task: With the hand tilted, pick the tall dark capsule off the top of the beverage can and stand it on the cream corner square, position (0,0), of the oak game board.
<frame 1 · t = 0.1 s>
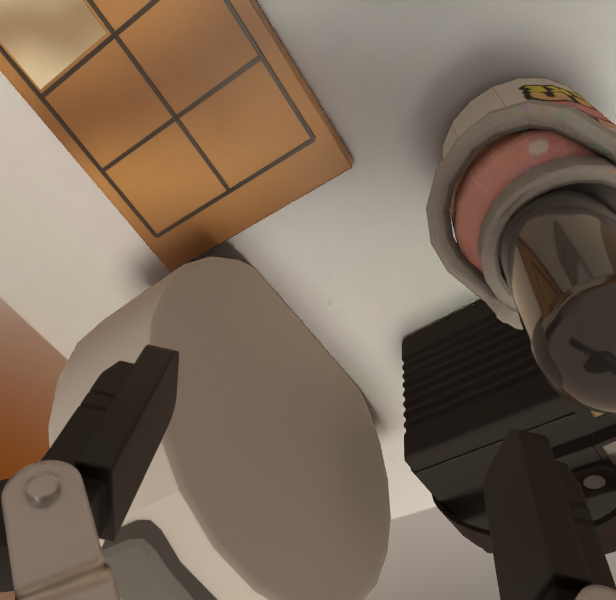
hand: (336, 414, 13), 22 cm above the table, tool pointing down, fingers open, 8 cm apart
camera: (522, 348, 38), on the table
board: (154, 73, 31), on the table
alarm clock: (270, 351, 41), on the table
dark capsule: (560, 244, 21), point 12 cm above the table, touching beverage can
beverage can: (505, 145, 31), on the table, touching dark capsule
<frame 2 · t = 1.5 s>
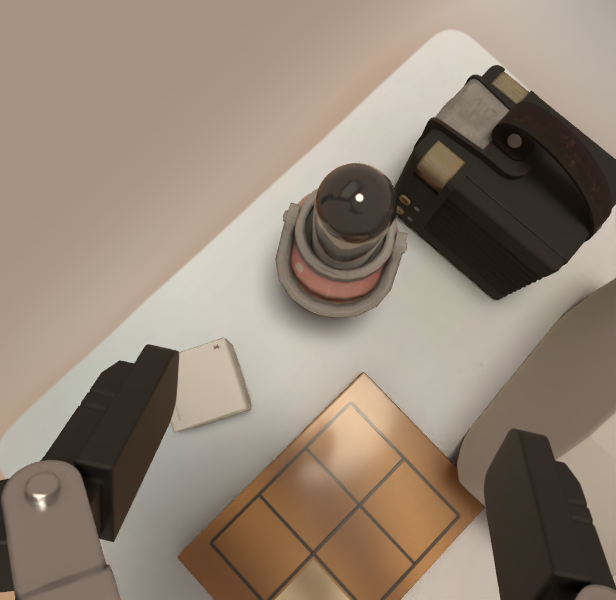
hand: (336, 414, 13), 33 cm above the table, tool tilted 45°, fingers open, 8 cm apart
camera: (473, 211, 49), on the table
board: (335, 525, 44), on the table
alarm clock: (547, 405, 46), on the table
small box: (209, 386, 46), on the table
dark capsule: (344, 236, 36), point 12 cm above the table, touching beverage can
beverage can: (328, 278, 48), on the table, touching dark capsule
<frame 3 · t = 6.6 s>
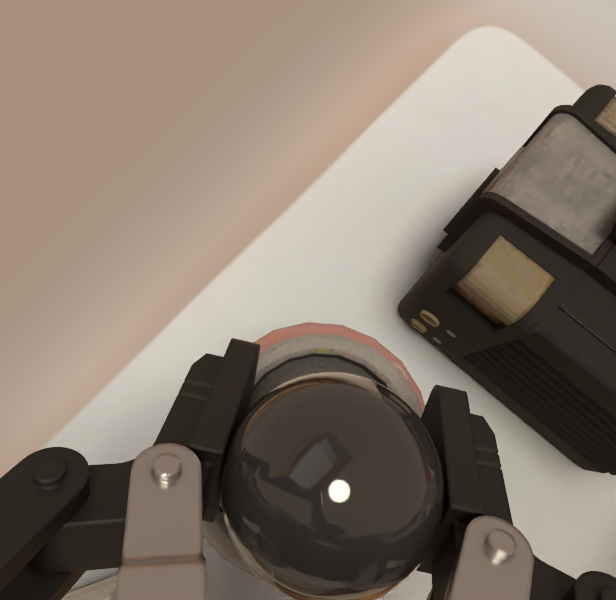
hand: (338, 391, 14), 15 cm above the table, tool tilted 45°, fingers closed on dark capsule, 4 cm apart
camera: (537, 315, 31), on the table
dark capsule: (316, 458, 17), point 12 cm above the table, touching beverage can, gripper
beverage can: (305, 439, 29), on the table, touching dark capsule
when the fingers open (5 cm above the table, at t = 19.0 s): dark capsule stays where it is, resting on board.
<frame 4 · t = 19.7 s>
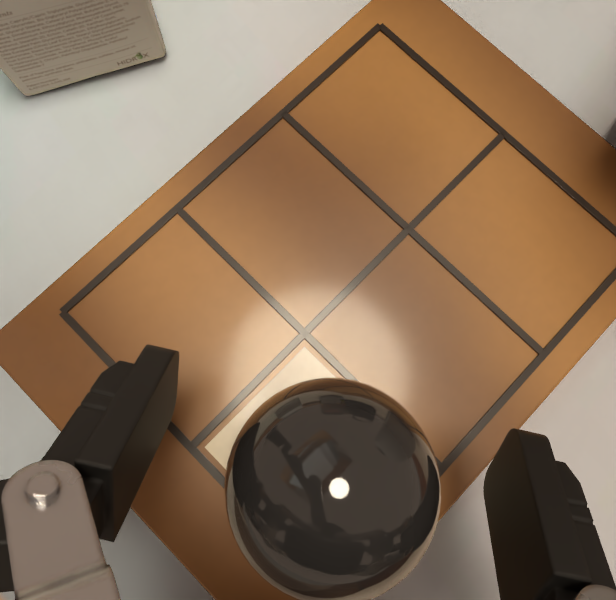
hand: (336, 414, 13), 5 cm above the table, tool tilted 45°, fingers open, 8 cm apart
board: (353, 288, 20), on the table
small box: (79, 21, 22), on the table
dark capsule: (317, 461, 17), point 1 cm above the table, touching board
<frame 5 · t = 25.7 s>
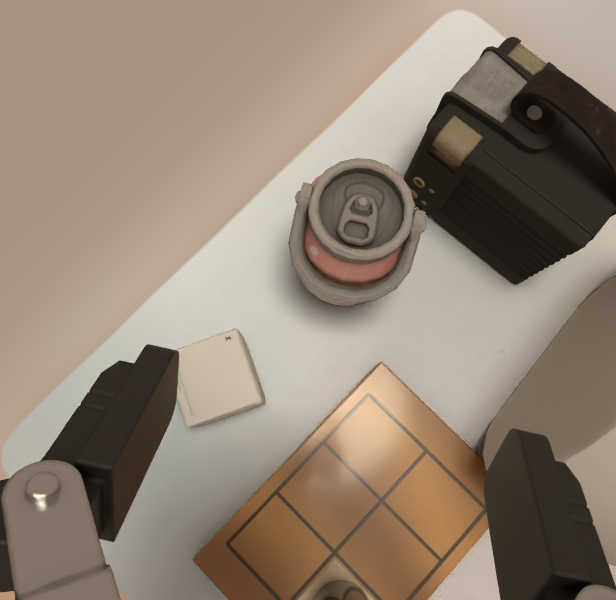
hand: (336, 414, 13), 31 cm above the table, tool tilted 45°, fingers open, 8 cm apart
camera: (488, 193, 48), on the table
board: (356, 523, 42), on the table
alarm clock: (573, 392, 45), on the table
small box: (221, 381, 44), on the table
beverage can: (341, 266, 46), on the table
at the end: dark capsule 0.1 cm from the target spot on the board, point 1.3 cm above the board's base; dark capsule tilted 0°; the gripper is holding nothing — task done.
